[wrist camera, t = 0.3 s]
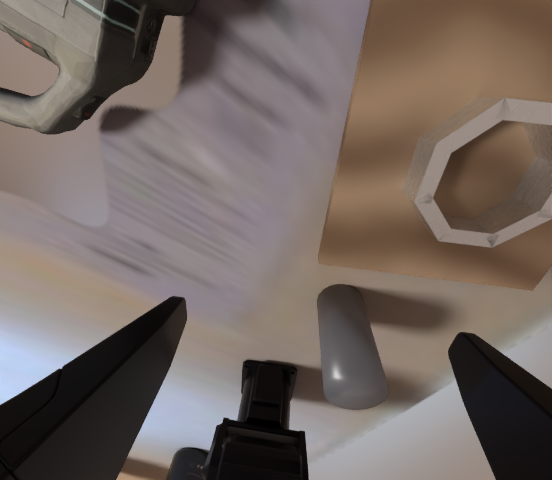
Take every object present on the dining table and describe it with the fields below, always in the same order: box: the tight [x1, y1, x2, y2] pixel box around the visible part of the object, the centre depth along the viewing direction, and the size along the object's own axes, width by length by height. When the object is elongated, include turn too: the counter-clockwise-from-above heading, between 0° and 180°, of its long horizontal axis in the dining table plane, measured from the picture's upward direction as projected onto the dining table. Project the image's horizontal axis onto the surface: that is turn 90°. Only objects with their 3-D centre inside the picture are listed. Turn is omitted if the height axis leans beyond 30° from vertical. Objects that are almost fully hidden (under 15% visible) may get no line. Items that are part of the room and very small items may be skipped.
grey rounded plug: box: [317, 284, 389, 410], centre depth 22 cm, size 4×4×9 cm
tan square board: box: [318, 0, 552, 291], centre depth 18 cm, size 18×18×1 cm
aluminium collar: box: [401, 97, 552, 248], centre depth 17 cm, size 9×9×2 cm
